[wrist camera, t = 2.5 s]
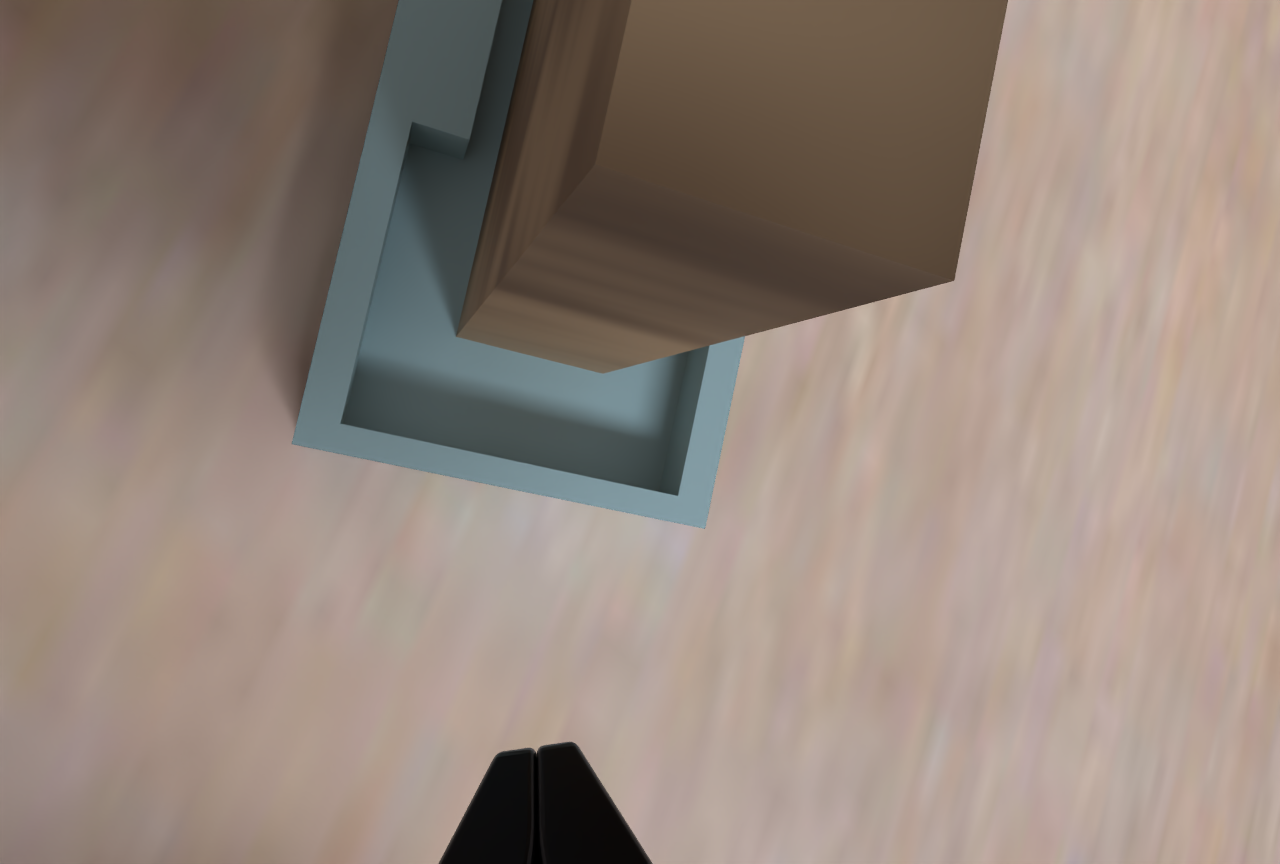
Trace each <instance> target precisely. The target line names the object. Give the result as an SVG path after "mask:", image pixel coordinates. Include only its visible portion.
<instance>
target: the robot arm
mask: <svg viewBox="0 0 1280 864" xmlns="http://www.w3.org/2000/svg"><path fill="white" fill-rule="evenodd" d="M439 864H652V862H651V860H650V859H649V857H648V856H647V854H646V853H645V851H644V849H643V848H642V846H641V845H640V843H639V841H638V840H637V838H636V837H635V835H634V834H633V832H632V830H631V829H630V827H629V826H628V824H627V823H626V821H625V819H624V818H623V816H622V815H621V813H620V811H619V810H618V808H617V807H616V805H615V804H614V802H613V800H612V799H611V797H610V796H609V794H608V793H607V791H606V789H605V788H604V786H603V785H602V783H601V781H600V780H599V778H598V777H597V775H596V774H595V772H594V770H593V769H592V767H591V766H590V764H589V763H588V761H587V759H586V758H585V756H584V755H583V753H582V751H581V750H580V748H579V747H578V746H577V745H576V744H575V743H573V742H564V743H557V744H551V745H544V746H541V747H540V748H539V749H538V751H537V754H536V752H535V750H534V749H532V748H524V749H517V750H510V751H503V752H500V753H498V754H497V755H496V756H495V758H494V759H493V761H492V762H491V764H490V766H489V768H488V770H487V772H486V774H485V776H484V778H483V780H482V782H481V783H480V785H479V787H478V789H477V791H476V793H475V795H474V797H473V799H472V801H471V803H470V805H469V806H468V808H467V810H466V812H465V814H464V816H463V818H462V820H461V822H460V824H459V826H458V827H457V829H456V831H455V833H454V835H453V837H452V839H451V841H450V843H449V845H448V847H447V849H446V850H445V852H444V854H443V856H442V858H441V860H440V862H439Z"/></svg>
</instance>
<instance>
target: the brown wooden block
mask: <svg viewBox="0 0 1280 864" xmlns="http://www.w3.org/2000/svg"><path fill="white" fill-rule="evenodd" d="M1007 3H1008V0H533V4H532V9H531V13H530V17H529V22H528V26H527V30H526V35H525V39H524V43H523V48H522V52H521V56H520V61H519V65H518V69H517V74H516V78H515V82H514V87H513V91H512V96H511V100H510V104H509V109H508V113H507V117H506V122H505V126H504V130H503V135H502V139H501V143H500V148H499V152H498V156H497V161H496V165H495V169H494V174H493V178H492V182H491V187H490V191H489V195H488V200H487V204H486V208H485V213H484V217H483V221H482V226H481V230H480V235H479V239H478V243H477V248H476V252H475V256H474V261H473V265H472V269H471V274H470V278H469V282H468V287H467V291H466V295H465V300H464V304H463V308H462V313H461V317H460V321H459V326H458V330H457V334H456V337H459V338H463V339H467V340H471V341H475V342H478V343H482V344H486V345H490V346H494V347H498V348H502V349H506V350H510V351H514V352H518V353H522V354H526V355H530V356H534V357H538V358H542V359H546V360H550V361H554V362H558V363H562V364H566V365H570V366H574V367H578V368H582V369H586V370H590V371H594V372H598V373H602V374H604V373H608V372H611V371H615V370H619V369H623V368H626V367H630V366H634V365H638V364H642V363H645V362H649V361H653V360H657V359H660V358H664V357H668V356H672V355H676V354H679V353H683V352H687V351H691V350H694V349H698V348H702V347H706V346H709V345H713V344H717V343H721V342H725V341H728V340H732V339H736V338H740V337H743V336H747V335H751V334H755V333H759V332H762V331H766V330H770V329H774V328H777V327H781V326H785V325H789V324H792V323H796V322H800V321H804V320H808V319H811V318H815V317H819V316H823V315H826V314H830V313H834V312H838V311H842V310H845V309H849V308H853V307H857V306H860V305H864V304H868V303H872V302H875V301H879V300H883V299H887V298H891V297H894V296H898V295H902V294H906V293H909V292H913V291H917V290H921V289H925V288H928V287H932V286H936V285H940V284H943V283H947V282H951V281H954V279H955V273H956V268H957V263H958V258H959V252H960V247H961V242H962V237H963V232H964V226H965V221H966V216H967V211H968V206H969V200H970V195H971V190H972V185H973V180H974V174H975V169H976V164H977V159H978V154H979V148H980V143H981V138H982V133H983V128H984V122H985V117H986V112H987V107H988V101H989V96H990V91H991V86H992V81H993V75H994V70H995V65H996V60H997V55H998V49H999V44H1000V39H1001V34H1002V29H1003V23H1004V18H1005V13H1006V8H1007Z"/></svg>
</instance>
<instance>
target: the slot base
mask: <svg viewBox="0 0 1280 864" xmlns="http://www.w3.org/2000/svg"><path fill="white" fill-rule="evenodd" d="M532 4H533V0H399V1H398V5H397V9H396V14H395V18H394V22H393V26H392V30H391V34H390V38H389V43H388V47H387V51H386V55H385V59H384V63H383V67H382V72H381V76H380V80H379V84H378V88H377V92H376V96H375V101H374V105H373V109H372V113H371V117H370V121H369V126H368V130H367V134H366V138H365V142H364V146H363V150H362V155H361V159H360V163H359V167H358V171H357V175H356V179H355V184H354V188H353V192H352V196H351V200H350V204H349V209H348V213H347V217H346V221H345V225H344V229H343V233H342V238H341V242H340V246H339V250H338V254H337V258H336V262H335V267H334V271H333V275H332V279H331V283H330V287H329V291H328V296H327V300H326V304H325V308H324V312H323V316H322V321H321V325H320V329H319V333H318V337H317V341H316V345H315V350H314V354H313V358H312V362H311V366H310V370H309V374H308V379H307V383H306V387H305V391H304V395H303V399H302V403H301V408H300V412H299V416H298V420H297V424H296V428H295V433H294V437H293V441H292V444H294V445H299V446H304V447H309V448H314V449H318V450H323V451H328V452H333V453H338V454H343V455H348V456H353V457H357V458H362V459H367V460H372V461H377V462H382V463H387V464H392V465H396V466H401V467H406V468H411V469H416V470H421V471H426V472H431V473H435V474H440V475H445V476H450V477H455V478H460V479H465V480H470V481H474V482H479V483H484V484H489V485H494V486H499V487H504V488H509V489H513V490H518V491H523V492H528V493H533V494H538V495H543V496H548V497H553V498H557V499H562V500H567V501H572V502H577V503H582V504H587V505H592V506H596V507H601V508H606V509H611V510H616V511H621V512H626V513H631V514H635V515H640V516H645V517H650V518H655V519H660V520H665V521H670V522H674V523H679V524H684V525H689V526H694V527H699V528H704V529H705V526H706V521H707V517H708V512H709V507H710V502H711V497H712V492H713V488H714V483H715V478H716V473H717V468H718V464H719V459H720V454H721V449H722V444H723V439H724V435H725V430H726V425H727V420H728V415H729V411H730V406H731V401H732V396H733V391H734V387H735V382H736V377H737V372H738V367H739V362H740V358H741V353H742V348H743V343H744V338H745V336H743V337H740V338H736V339H732V340H728V341H725V342H721V343H717V344H713V345H709V346H706V347H702V348H698V349H694V350H691V351H687V352H683V353H679V354H676V355H672V356H668V357H664V358H660V359H657V360H653V361H649V362H645V363H642V364H638V365H634V366H630V367H626V368H623V369H619V370H615V371H611V372H608V373H604V374H602V373H598V372H594V371H590V370H586V369H582V368H578V367H574V366H570V365H566V364H562V363H558V362H554V361H550V360H546V359H542V358H538V357H534V356H530V355H526V354H522V353H518V352H514V351H510V350H506V349H502V348H498V347H494V346H490V345H486V344H482V343H478V342H475V341H471V340H467V339H463V338H459V337H456V334H457V330H458V326H459V321H460V317H461V313H462V308H463V304H464V300H465V295H466V291H467V287H468V282H469V278H470V274H471V269H472V265H473V261H474V256H475V252H476V248H477V243H478V239H479V235H480V230H481V226H482V221H483V217H484V213H485V208H486V204H487V200H488V195H489V191H490V187H491V182H492V178H493V174H494V169H495V165H496V161H497V156H498V152H499V148H500V143H501V139H502V135H503V130H504V126H505V122H506V117H507V113H508V109H509V104H510V100H511V96H512V91H513V87H514V82H515V78H516V74H517V69H518V65H519V61H520V56H521V52H522V48H523V43H524V39H525V35H526V30H527V26H528V22H529V17H530V13H531V9H532Z"/></svg>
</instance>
